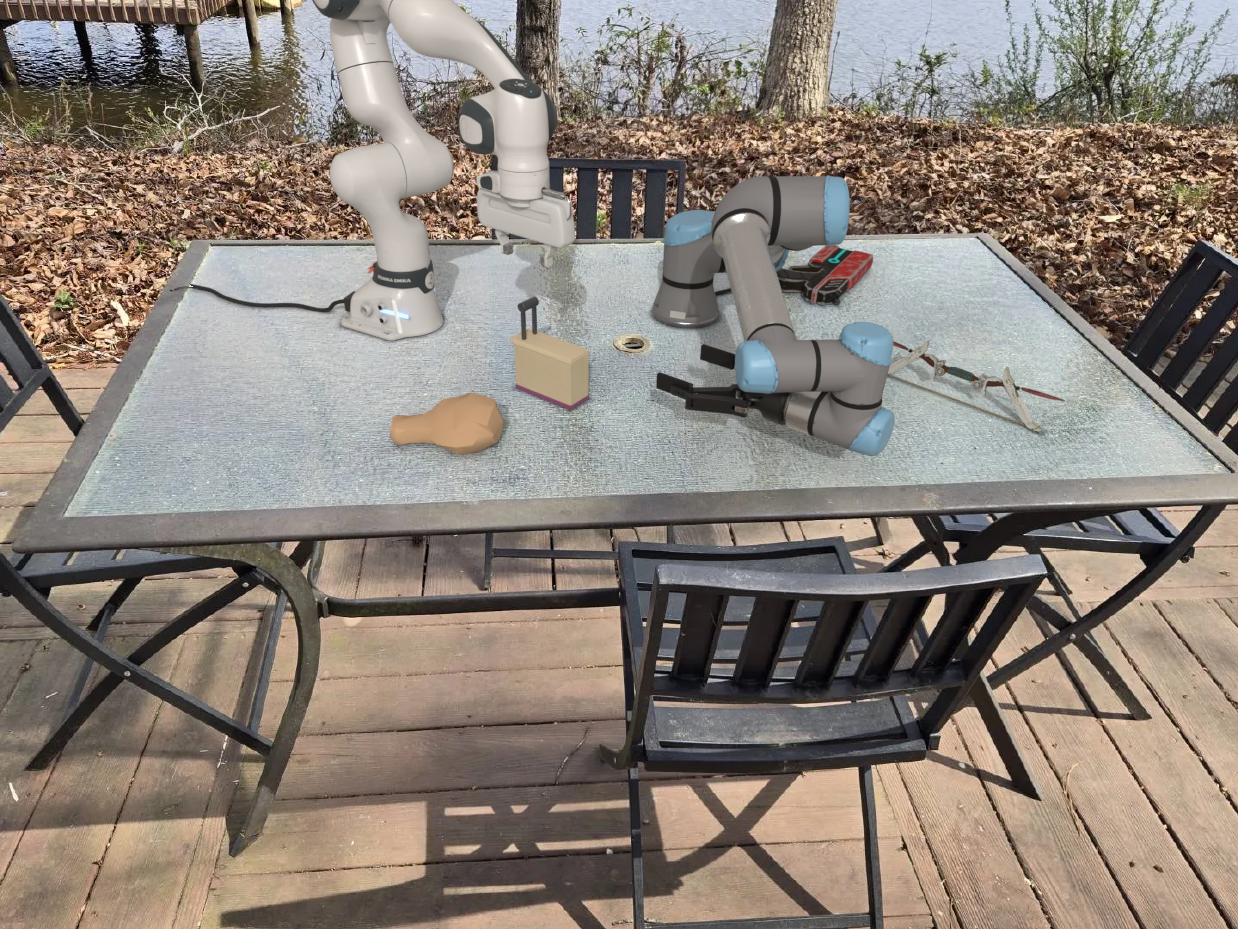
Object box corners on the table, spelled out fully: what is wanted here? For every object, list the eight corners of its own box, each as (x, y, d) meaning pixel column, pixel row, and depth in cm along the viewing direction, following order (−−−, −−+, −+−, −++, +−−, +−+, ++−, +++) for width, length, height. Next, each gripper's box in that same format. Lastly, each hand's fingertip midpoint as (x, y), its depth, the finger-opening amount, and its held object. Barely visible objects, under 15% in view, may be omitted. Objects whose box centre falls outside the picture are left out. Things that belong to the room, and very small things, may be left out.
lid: (510, 342, 167) (508, 301, 163) (529, 332, 171) (527, 292, 166) (570, 364, 160) (570, 322, 156) (588, 354, 164) (589, 312, 159)
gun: (761, 274, 213) (838, 293, 205) (807, 236, 235) (878, 252, 227) (759, 291, 216) (834, 311, 208) (805, 252, 238) (874, 269, 230)
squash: (504, 461, 151) (494, 421, 145) (391, 469, 152) (376, 431, 146) (510, 420, 159) (501, 381, 152) (403, 428, 160) (389, 390, 154)
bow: (1054, 434, 162) (1071, 386, 157) (1051, 438, 161) (1067, 390, 156) (868, 365, 184) (877, 321, 178) (864, 368, 183) (873, 324, 177)
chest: (516, 388, 172) (513, 344, 167) (534, 377, 176) (533, 334, 171) (570, 410, 166) (570, 365, 160) (588, 399, 169) (588, 354, 164)
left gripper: (582, 190, 148) (582, 268, 156) (493, 168, 158) (497, 242, 166) (559, 198, 144) (560, 278, 152) (469, 175, 154) (474, 251, 162)
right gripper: (752, 458, 132) (637, 413, 142) (824, 395, 149) (716, 359, 159) (757, 414, 127) (638, 372, 138) (831, 355, 144) (720, 321, 155)
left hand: (526, 259), depth 159 cm, fingers open, 8 cm apart
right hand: (680, 365), depth 148 cm, fingers open, 13 cm apart
